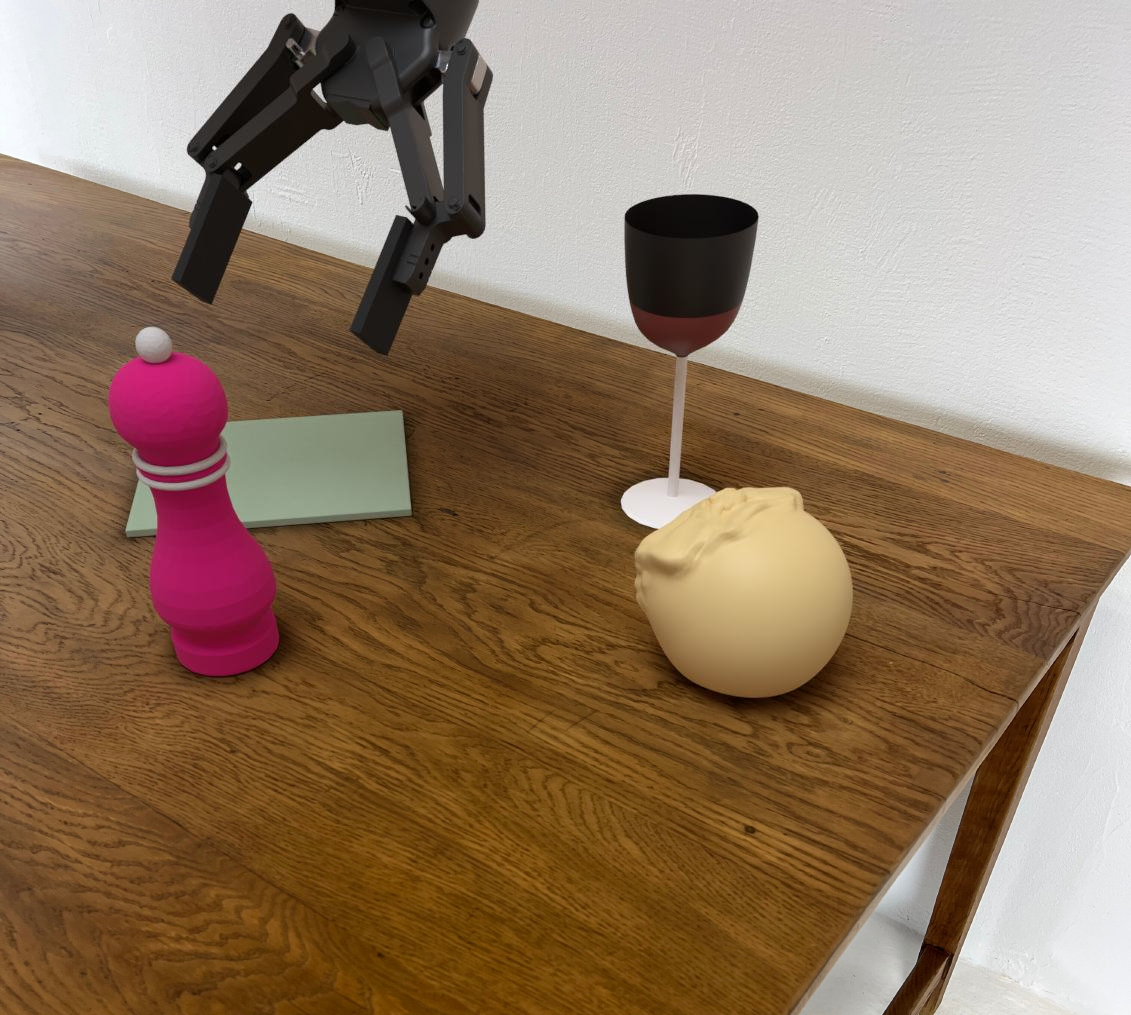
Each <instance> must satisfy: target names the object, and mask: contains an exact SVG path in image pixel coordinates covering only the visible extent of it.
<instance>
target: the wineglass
mask: <svg viewBox="0 0 1131 1015" xmlns="http://www.w3.org/2000/svg"><path fill="white" fill-rule="evenodd" d="M759 218H760V216H759V211H757V209H756V208H755V207H754V206H752V205H750V204H749V203H747V202H744V201H741V200H739V199H735V198H732V197H727V196H722V195H715V194H701V193H699V194H698V193H689V194H688V193H685V194H684V193H683V194H672V195H663V196H658V197H654V198H650V199H646V200H643V201H640V202H637V203H636V204H634V205H632V206H631V207H629V208H628V209H627V210H626V212H624V221H623V223H624V227H623V228H624V229H623V231H624V232H623V234H624V237H623V240H624V265H625V266H624V268H625V279H626V287H627V289H626V290H627V295H628V302H629V306H630V310H631V314H632V317H633V320H634V323H635V325H636V327H637V329H638V330H639V332H640V334H641V335H642V336H644V337H645V339H647V340H648V341H649V342H650V343H651V344H654V345H655V346H656V347H658V348H660V349H663V350H665V351H667V352H669V353H672V354H674V355H675V356H676V357H675V371H674V386H673V403H672V405H673V406H672V418H671V431H670V432H671V434H670V447H669V448H670V449H669V462H668V463H669V464H668V477H657V478H652V479H648V480H647V479H646V480H643V481H641V482H638V483H636V484H634V485H632V486H630V487H629V488H628V489H627V490H626V491H624V493H623V495H622V497H621V499H620V504H621V509H622V510H623V512H624V513H625V514H626V516H627V517H629V518H630V519H632V520H633V521H635V522H637V523H638V524H640V525H643V526H646V527H650V528H653V529H656V530H658V529H659V528H661V527H663V526H664V525H666V524H668V523H670V522H671V521H673V520H674V519H675V518H676V517H677V516H679V515H680V514H681V513H682V512H683V511H685V510H688V509H689V508H691V507H692V506H693V505H695V504H696V503H699V502H700V501H701V500H703V499H706V498H709V497H710V496H711V495H714V494H715V493H716V492H717V491H716V490H715V489H713V488H711V487H710V486H708V485H706V484H704V483H701V482H698V481H695V480H691V479H688V478H680V471H681V458H682V457H681V456H682V444H683V442H682V441H683V431H684V430H683V428H684V415H685V412H684V411H685V402H686V400H685V399H686V387H687V386H686V385H687V372H688V356H689V355H691V354H692V353H695V352H697V351H699V350H701V349H703V348H706V347H707V346H709V345H711V344H713V343H714V342H716V341H717V340H719V339H720V338H722V336H723V335H724V334H726V333H727V332H728V330H729V329H730V328H731V326H732V325H733V324H734V322H735V320H736V319H737V317H738V314H739V313H740V309H741V307H742V304H743V301H744V298H745V295H746V291H747V287H748V283H749V279H750V274H751V268H752V264H753V263H752V262H753V257H754V252H755V246H756V240H757V233H758V227H759V226H758V225H759Z"/></svg>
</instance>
